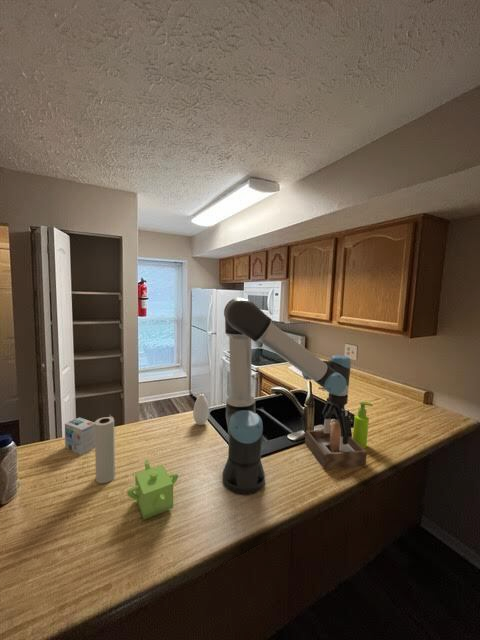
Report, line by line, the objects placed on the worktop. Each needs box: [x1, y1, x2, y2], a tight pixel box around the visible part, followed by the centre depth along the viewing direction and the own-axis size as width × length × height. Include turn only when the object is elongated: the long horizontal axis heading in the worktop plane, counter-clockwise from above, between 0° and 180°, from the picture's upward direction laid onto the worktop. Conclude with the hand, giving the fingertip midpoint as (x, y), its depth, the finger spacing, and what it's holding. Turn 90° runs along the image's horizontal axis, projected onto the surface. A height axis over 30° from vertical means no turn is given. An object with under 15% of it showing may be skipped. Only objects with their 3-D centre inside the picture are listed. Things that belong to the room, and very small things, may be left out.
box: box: [304, 428, 368, 470], centre depth 115 cm, size 18×18×6 cm
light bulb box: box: [64, 416, 95, 456], centre depth 113 cm, size 11×7×11 cm, turn 65°
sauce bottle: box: [192, 389, 210, 426], centre depth 136 cm, size 8×8×18 cm
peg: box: [329, 419, 341, 453], centre depth 115 cm, size 4×4×14 cm
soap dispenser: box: [352, 401, 374, 449], centre depth 122 cm, size 6×7×20 cm
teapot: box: [127, 459, 179, 521], centre depth 84 cm, size 15×13×11 cm
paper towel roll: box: [94, 415, 116, 484], centre depth 95 cm, size 7×6×21 cm
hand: (334, 441), depth 115 cm, fingers open, 13 cm apart
